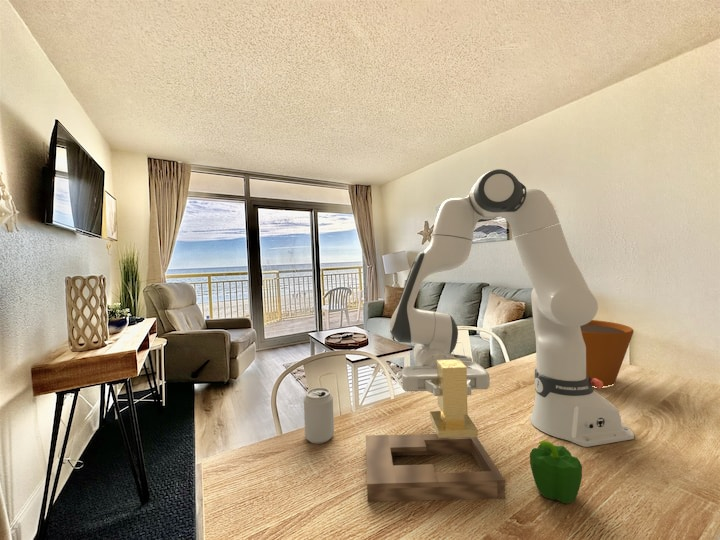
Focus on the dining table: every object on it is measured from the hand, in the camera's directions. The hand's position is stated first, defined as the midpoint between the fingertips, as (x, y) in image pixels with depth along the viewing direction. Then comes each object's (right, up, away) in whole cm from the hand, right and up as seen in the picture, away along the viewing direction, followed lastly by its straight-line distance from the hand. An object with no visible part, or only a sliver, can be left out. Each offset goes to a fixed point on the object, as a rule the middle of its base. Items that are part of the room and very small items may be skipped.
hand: (452, 392), depth 66 cm
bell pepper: (+18, -17, -7) cm, 25 cm away
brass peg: (0, -8, +1) cm, 8 cm away
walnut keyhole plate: (-5, -17, 0) cm, 18 cm away
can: (-30, -18, +14) cm, 38 cm away
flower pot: (+63, -14, +45) cm, 78 cm away
